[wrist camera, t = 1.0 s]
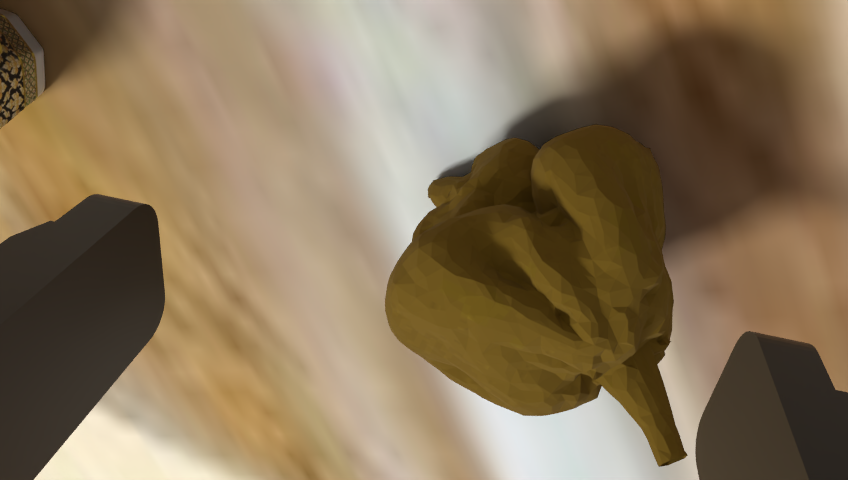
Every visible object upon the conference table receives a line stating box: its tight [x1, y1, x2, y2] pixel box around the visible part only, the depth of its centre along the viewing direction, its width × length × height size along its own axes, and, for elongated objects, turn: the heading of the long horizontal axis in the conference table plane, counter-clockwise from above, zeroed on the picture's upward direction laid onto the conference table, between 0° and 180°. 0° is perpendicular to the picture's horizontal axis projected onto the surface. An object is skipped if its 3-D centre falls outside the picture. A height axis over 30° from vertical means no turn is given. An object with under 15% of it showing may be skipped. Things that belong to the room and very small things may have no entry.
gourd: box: [385, 124, 687, 467], centre depth 35 cm, size 14×14×14 cm
